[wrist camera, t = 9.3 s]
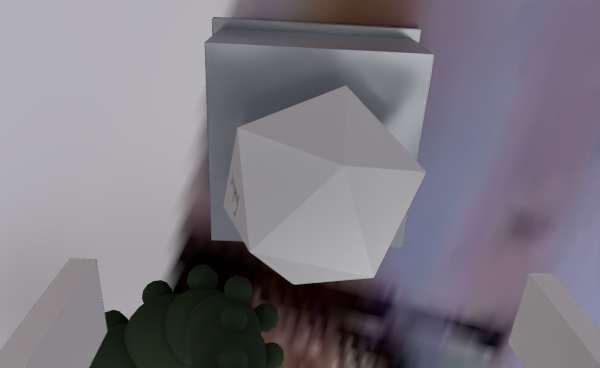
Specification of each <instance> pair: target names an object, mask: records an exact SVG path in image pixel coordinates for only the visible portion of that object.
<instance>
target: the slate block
mask: <svg viewBox="0 0 600 368" xmlns="http://www.w3.org/2000/svg"><path fill="white" fill-rule="evenodd" d="M420 35H421V29H419V28H410V27H391V26H372V25H353V24H334V23H315V22H296V21H277V20H258V19H240V18H221V17H214V18H213V19H212V37H210V38H209V39H208V40H207V41H206V42H205V67H206V96H207V125H208V154H209V183H210V212H211V240H222V241H243V239H242V238H241V236H240V234H239V233H238V231H237V229H236V227H235V226H234V224H233V222H232V220H231V219H230V217H229V215H228V214H227V212H226V210H225V208H224V207H223V205H224V199H225V194H226V188H227V183H228V177H229V172H230V166H231V160H232V155H233V149H234V144H235V138H236V133H237V128H238V127H240V126H243V125H245V124H248V123H250V122H253V121H256V120H258V119H261V118H263V117H266V116H268V115H271V114H274V113H276V112H279V111H281V110H284V109H286V108H289V107H292V106H294V105H297V104H299V103H302V102H304V101H307V100H310V99H312V98H315V97H317V96H320V95H322V94H325V93H328V92H330V91H333V90H335V89H338V88H341V87H343V86H347V87H348V88H349V89H350V90H351V91H352V92H353V93H354V94H355V95H356V96H357V98H358V99H359V100H360V101H361V102H362V103H363V104H364V105H365V106H366V107H367V108H368V109H369V111H370V112H371V113H372V114H373V115H374V116H375V117H376V118H377V119H378V120H379V121H380V122H381V123H382V125H383V126H384V127H385V128H386V129H387V130H388V131H389V132H390V133H391V134H392V135H393V136H394V138H395V139H396V140H397V141H398V142H399V143H400V144H401V145H402V146H403V147H404V148H405V149H406V150H407V152H408V153H409V154H410V155H411V156H412V157H413V158H414V159H415V160H416V161H417V156H418V150H419V144H420V138H421V132H422V126H423V120H424V114H425V108H426V102H427V96H428V90H429V84H430V78H431V72H432V66H433V60H434V55H435V54H433V53H432V52H430V51H429V50H427V49H426V48H425V47H423V46H422V45H420V44H419V41H420ZM408 209H409V208H408ZM407 215H408V210H407V212H406V214H405V216H404V218H403V220H402V222H401V224H400V226H399V228H398V230H397V232H396V234H395V236H394V238H393V240H392V242H391V244H390V246H389V248H402V245H403V239H404V233H405V227H406V221H407Z"/></svg>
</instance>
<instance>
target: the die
mask: <svg viewBox="0 0 600 368" xmlns="http://www.w3.org/2000/svg"><path fill="white" fill-rule="evenodd" d="M425 174H426V171H425V170H424V169H423V168H422V167H421V166H420V164H419V163H418V162H417V161H416V160H415V159H414V158H413V157H412V156H411V155H410V154H409V153H408V152H407V150H406V149H405V148H404V147H403V146H402V145H401V144H400V143H399V142H398V141H397V140H396V139H395V138H394V136H393V135H392V134H391V133H390V132H389V131H388V130H387V129H386V128H385V127H384V126H383V125H382V123H381V122H380V121H379V120H378V119H377V118H376V117H375V116H374V115H373V114H372V113H371V112H370V111H369V109H368V108H367V107H366V106H365V105H364V104H363V103H362V102H361V101H360V100H359V99H358V98H357V96H356V95H355V94H354V93H353V92H352V91H351V90H350V89H349V88H348V87H347V86H343V87H341V88H338V89H335V90H333V91H330V92H328V93H325V94H322V95H320V96H317V97H315V98H312V99H310V100H307V101H304V102H302V103H299V104H297V105H294V106H292V107H289V108H286V109H284V110H281V111H279V112H276V113H274V114H271V115H268V116H266V117H263V118H261V119H258V120H256V121H253V122H250V123H248V124H245V125H243V126H240V127H238V128H237V133H236V138H235V144H234V149H233V155H232V160H231V166H230V172H229V177H228V183H227V188H226V194H225V199H224V205H223V207H224V208H225V210H226V212H227V214H228V215H229V217H230V219H231V220H232V222H233V224H234V226H235V227H236V229H237V231H238V233H239V234H240V236H241V238H242V239H243V241H244V243H245V245H246V246H247V248H248V250H249V252H250V253H252V254H253V255H255V256H256V257H257V258H259V259H260V260H261V261H263V262H264V263H265V264H267V265H268V266H269V267H271V268H272V269H273V270H275V271H276V272H277V273H279V274H280V275H281V276H283V277H284V278H285V279H287V280H288V281H289V282H291V283H292V284H306V283H317V282H329V281H341V280H352V279H364V278H374V276H375V274H376V272H377V270H378V268H379V266H380V264H381V262H382V260H383V258H384V256H385V254H386V252H387V250H388V248H389V246H390V244H391V242H392V240H393V238H394V236H395V234H396V232H397V230H398V228H399V226H400V224H401V222H402V220H403V218H404V216H405V214H406V212H407V210H408V208H409V206H410V204H411V202H412V200H413V198H414V196H415V194H416V192H417V190H418V188H419V186H420V184H421V182H422V180H423V178H424V176H425Z"/></svg>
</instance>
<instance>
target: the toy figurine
mask: <svg viewBox="0 0 600 368" xmlns="http://www.w3.org/2000/svg"><path fill="white" fill-rule="evenodd" d="M187 284H188V285H189V287H190V288H191V289H190V290H187V291H186V292H184V293H183V294H178V293H177V294H172V289H171V288H170V286H169V285H168V284H167V282H164V281H161V280H159V281H153V282H151V283H150V284H148V285H147V286H146V288H145V289H144V290H143V295H142V299H143V302H144V304H143V305H142V306H140V307H139V308H138V309H137V311H136V312H135V313H134V314H133V315H132V316H131V318H130V320H128V319H127V318H126V317H125V316H124V315H123V314H122V313H120V312H119V311H116V310H111V311H108V312H105V319H106V326H107V333H106V335H105V337H104V339H103V341H102V343H101V345H100V347H99V349H98V351H97V353H96V355H95V357H94V359H93V361H92V363H91V365H90V367H89V368H278V367H279V366H281V364H282V362H283V360H284V355H283V350H282V348H281V347H280V346H279V345H278V344H276V343H273V342H272V343H267V344H265V342H264V340H263V338H262V336H261V331H263V332H268V331H269V330H271V329H273V328H274V327H275V326H276V324H277V321H278V319H279V317H278V313H277V309H276V308H275V307H274V306H272V305H271V304H263V303H262V304H260V305H259V306H257V307H256V308H255V309H253V308H252V306H251V305H250V304H249V303H248V301H249V299H250V297H251V296H252V294H253V289H252V286H251V283H250V281H249V280H248V279H247V278H245V277H241V276H234V277H232V278H230V279H228V280H227V282H226V284H225V286H224V292H225V294H224V293H223V292H221V291H220V290H218V289H215V287H216V286H217V284H218V274H217V273H216V272H215V271H214V270H213V269H212V268H211V267H210V266H209V265H205V264H202V265H198V266H195V267H194V268H193V269H192V270H191V271H190V273H189V274H188V280H187Z"/></svg>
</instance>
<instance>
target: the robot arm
mask: <svg viewBox="0 0 600 368" xmlns="http://www.w3.org/2000/svg"><path fill="white" fill-rule="evenodd" d="M106 333H107V326H106V319H105V313H104V306H103V299H102V293H101V286H100V280H99V273H98V267H97V260H96V259H74V258H70V260H69V261H68V262H67V263H66V265H65V266H64V267H63V269H62V270H61V271H60V273H59V274H58V275H57V277H56V278H55V279H54V281H53V282H52V283H51V284H50V286H49V287H48V288H47V290H46V291H45V292H44V294H43V295H42V296H41V298H40V299H39V300H38V302H37V303H36V304H35V305H34V307H33V308H32V310H31V311H30V312H29V314H28V315H27V316H26V317H25V319H24V320H23V321H22V323H21V324H20V325H19V327H18V328H17V329H16V331H15V332H14V333H13V334H12V336H11V337H10V338H9V340H8V341H7V343H6V344H5V345H4V346H3V348H2V349H1V350H0V368H89V367H90V365H91V363H92V361H93V359H94V357H95V355H96V353H97V351H98V349H99V347H100V345H101V343H102V341H103V339H104V337H105V335H106ZM508 343H509V344H510V346H511V348H512V349H513V351H514V353H515V355H516V356H517V358H518V360H519V362H520V363H521V365H522V367H523V368H600V328H599V327H598V325H597V324H596V323H595V322H594V321H593V320H592V318H591V317H590V316H589V315H588V314H587V313H586V311H585V310H584V309H583V308H582V307H581V305H580V304H579V303H578V302H577V301H576V300H575V298H574V297H573V296H572V295H571V294H570V293H569V291H568V290H567V289H566V288H565V287H564V286H563V284H562V283H561V282H560V281H559V280H558V279H557V277H556V276H555V275H554V274H536V273H529V276H528V279H527V282H526V286H525V289H524V292H523V296H522V299H521V302H520V305H519V309H518V312H517V315H516V319H515V322H514V325H513V329H512V332H511V335H510V339H509V342H508Z"/></svg>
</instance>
